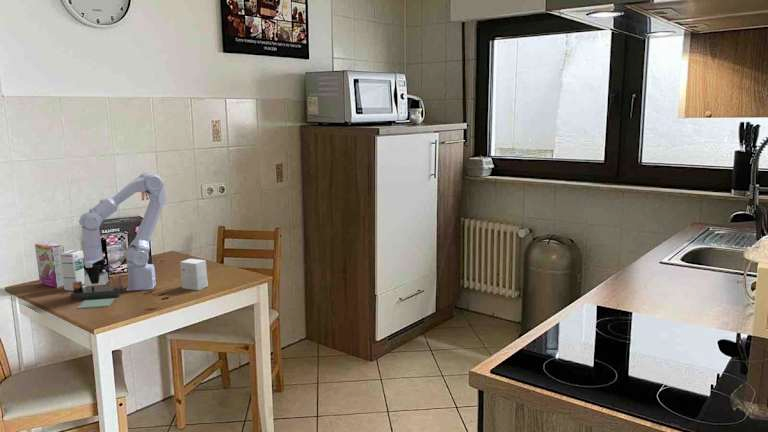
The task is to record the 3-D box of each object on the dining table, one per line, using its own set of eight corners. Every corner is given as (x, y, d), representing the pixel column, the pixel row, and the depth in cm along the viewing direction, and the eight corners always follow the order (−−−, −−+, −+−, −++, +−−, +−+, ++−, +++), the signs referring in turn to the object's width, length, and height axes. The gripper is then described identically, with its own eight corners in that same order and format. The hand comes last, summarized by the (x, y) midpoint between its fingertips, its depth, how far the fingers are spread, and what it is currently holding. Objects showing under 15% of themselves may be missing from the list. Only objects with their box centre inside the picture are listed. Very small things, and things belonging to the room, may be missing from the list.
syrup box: (77, 291, 220) (73, 253, 217) (63, 290, 221) (59, 253, 219) (87, 286, 225) (83, 250, 223) (74, 285, 227) (70, 249, 224)
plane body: (123, 291, 219) (121, 273, 217) (118, 297, 212) (117, 278, 211) (77, 294, 216) (75, 276, 214) (71, 300, 209) (69, 281, 208)
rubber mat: (114, 299, 209) (114, 298, 209) (108, 306, 202) (108, 305, 202) (84, 301, 207) (84, 300, 207) (77, 308, 200) (77, 307, 200)
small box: (208, 286, 223) (206, 260, 221) (198, 290, 218) (196, 263, 216) (192, 284, 226) (190, 258, 225) (181, 288, 221) (179, 261, 220)
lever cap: (108, 281, 216) (107, 270, 215) (105, 284, 212) (104, 273, 211) (88, 282, 214) (86, 272, 214) (84, 286, 210) (83, 275, 210)
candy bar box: (39, 284, 229) (33, 244, 226) (51, 281, 233) (46, 241, 230) (56, 288, 223) (51, 246, 220) (68, 285, 228) (64, 244, 225)
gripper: (86, 241, 217) (90, 277, 219) (74, 250, 203) (78, 288, 205) (106, 240, 218) (110, 275, 220) (96, 249, 204) (100, 286, 206)
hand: (96, 281), depth 213 cm, fingers closed on lever cap, 4 cm apart
